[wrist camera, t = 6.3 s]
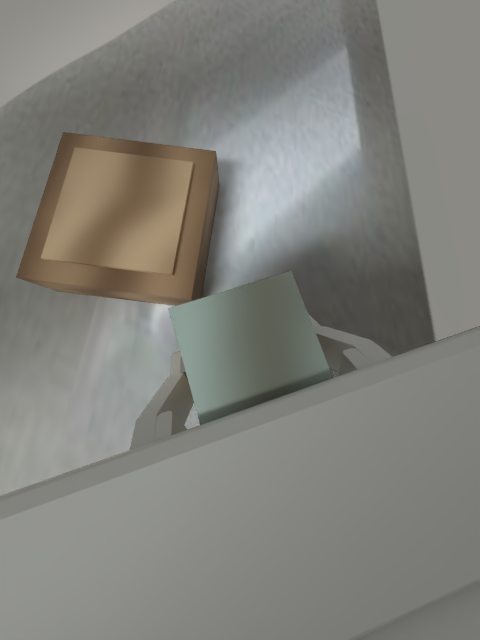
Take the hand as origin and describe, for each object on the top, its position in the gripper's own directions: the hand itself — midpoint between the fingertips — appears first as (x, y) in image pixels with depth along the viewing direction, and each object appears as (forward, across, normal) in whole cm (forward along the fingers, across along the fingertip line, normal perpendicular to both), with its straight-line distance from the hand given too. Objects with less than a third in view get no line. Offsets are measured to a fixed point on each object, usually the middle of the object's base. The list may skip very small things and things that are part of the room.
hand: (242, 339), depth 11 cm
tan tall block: (+3, 0, +4) cm, 5 cm away
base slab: (+12, +5, -5) cm, 14 cm away
